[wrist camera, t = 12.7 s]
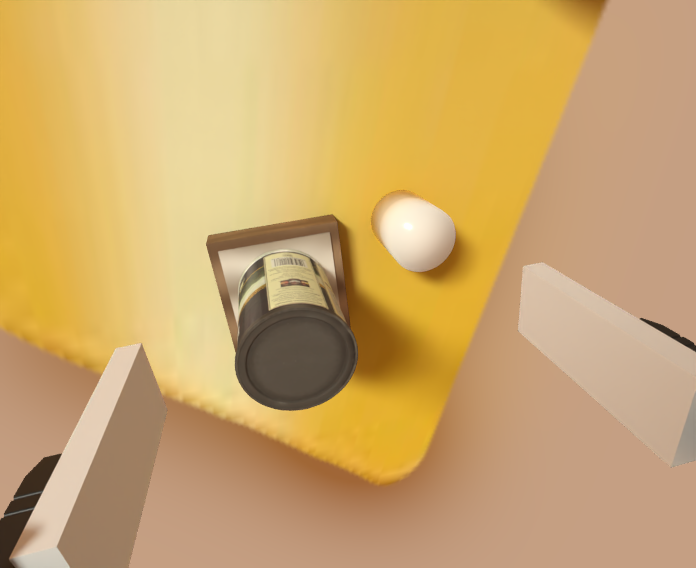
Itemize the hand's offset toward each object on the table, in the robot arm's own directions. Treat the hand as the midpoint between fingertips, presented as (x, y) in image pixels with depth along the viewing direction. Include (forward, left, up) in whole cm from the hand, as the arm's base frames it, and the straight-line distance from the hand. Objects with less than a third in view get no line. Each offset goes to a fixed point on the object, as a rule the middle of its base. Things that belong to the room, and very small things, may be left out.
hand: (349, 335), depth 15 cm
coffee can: (+13, -2, -32) cm, 34 cm away
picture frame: (+13, -2, -35) cm, 37 cm away
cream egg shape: (+8, +13, -35) cm, 38 cm away
